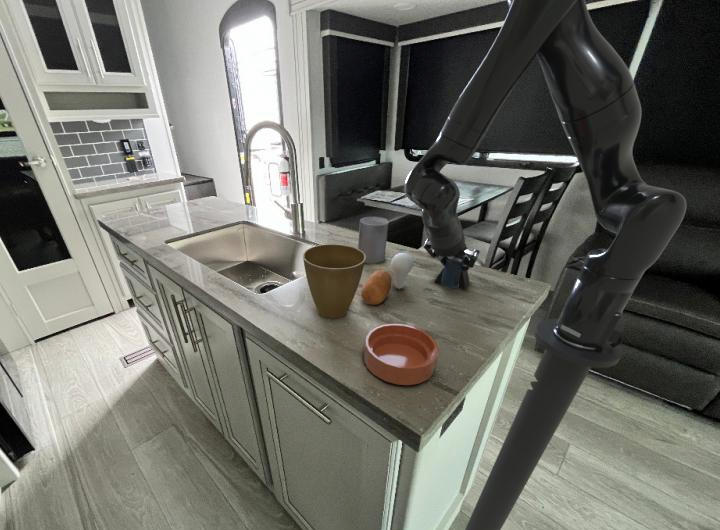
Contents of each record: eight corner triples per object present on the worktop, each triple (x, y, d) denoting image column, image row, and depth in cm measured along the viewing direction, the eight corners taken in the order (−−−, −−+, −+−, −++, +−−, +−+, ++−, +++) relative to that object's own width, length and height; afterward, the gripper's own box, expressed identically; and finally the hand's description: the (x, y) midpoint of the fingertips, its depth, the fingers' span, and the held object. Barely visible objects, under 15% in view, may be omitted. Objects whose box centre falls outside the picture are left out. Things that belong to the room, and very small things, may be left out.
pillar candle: (360, 252, 120) (362, 211, 112) (386, 255, 117) (391, 214, 110) (354, 262, 112) (356, 219, 104) (382, 265, 109) (387, 222, 102)
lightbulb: (410, 294, 92) (415, 258, 87) (388, 292, 93) (392, 256, 88) (408, 284, 97) (414, 250, 92) (388, 282, 98) (392, 248, 93)
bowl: (445, 361, 67) (450, 342, 65) (412, 400, 58) (416, 379, 56) (387, 334, 76) (389, 316, 73) (350, 364, 67) (351, 345, 64)
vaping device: (452, 291, 88) (461, 249, 82) (439, 282, 92) (447, 243, 86) (459, 289, 89) (469, 248, 83) (446, 281, 93) (454, 241, 87)
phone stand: (433, 282, 98) (441, 245, 92) (439, 275, 103) (446, 239, 97) (464, 290, 94) (474, 251, 88) (468, 282, 98) (478, 245, 92)
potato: (393, 289, 95) (399, 269, 90) (379, 314, 86) (384, 292, 81) (370, 282, 97) (375, 262, 93) (354, 304, 88) (358, 283, 83)
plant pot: (299, 325, 79) (297, 265, 71) (309, 295, 92) (308, 242, 83) (360, 330, 77) (365, 269, 69) (362, 299, 90) (366, 245, 82)
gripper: (483, 226, 71) (488, 260, 85) (423, 215, 80) (437, 247, 94) (469, 255, 71) (476, 285, 84) (410, 241, 79) (425, 270, 93)
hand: (455, 265), depth 89 cm, fingers closed on vaping device, 5 cm apart
